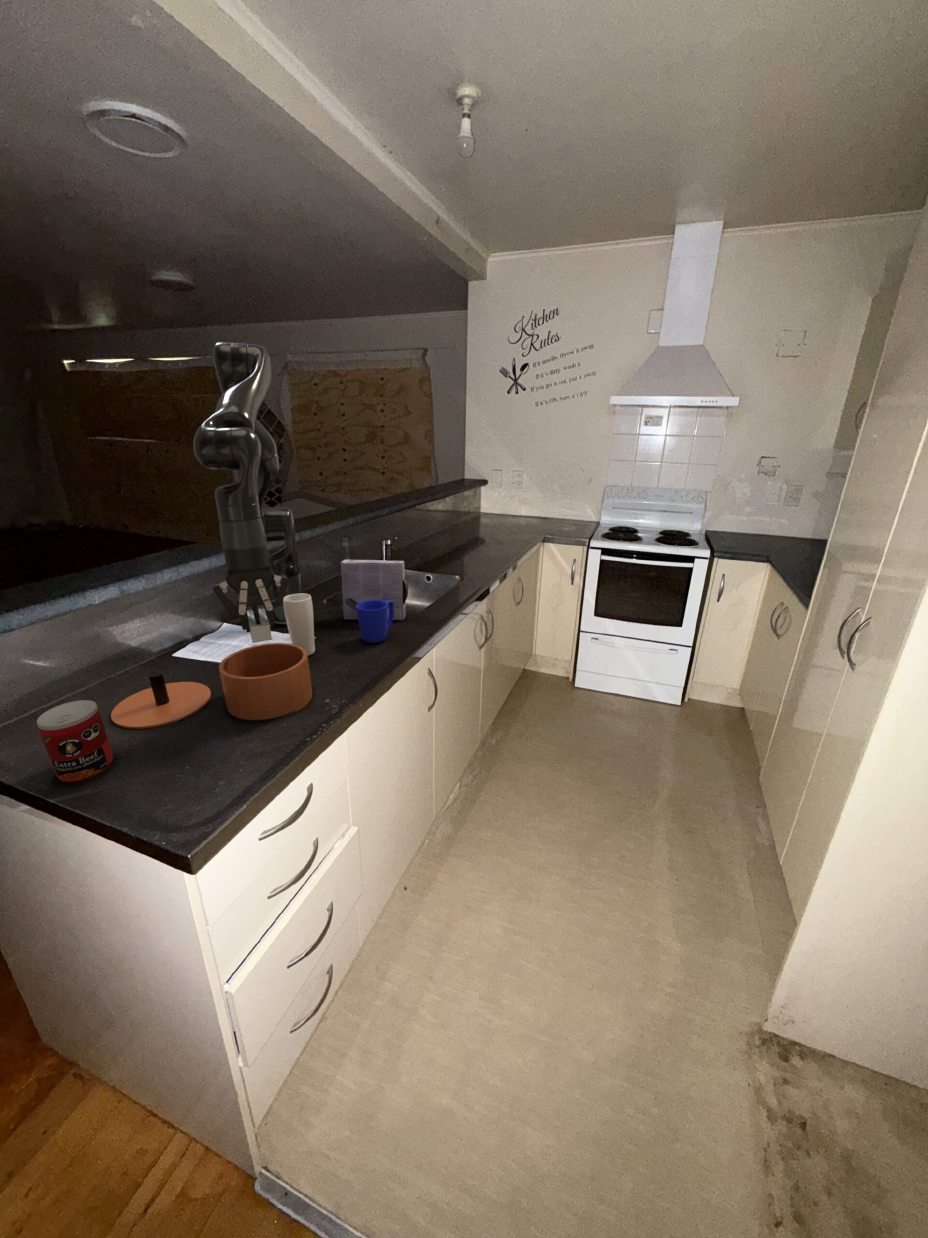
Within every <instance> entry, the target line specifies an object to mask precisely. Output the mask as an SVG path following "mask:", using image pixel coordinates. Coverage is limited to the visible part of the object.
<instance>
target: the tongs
mask: <svg viewBox="0 0 928 1238" xmlns="http://www.w3.org/2000/svg"><path fill="white" fill-rule="evenodd" d="M256 609H257V616H258V621H259V623H260V624H257V621H256V619H255V614H254V608H253V606H252V605H249V606H246V611H247V615H248V622H249V627H250V632H249V633H250V637H251V642H252V644H253V643H255V644H256V643H259V642H261V643H262V642H265V641H272V640H273V638H272V631H271V630H272V629H270V625H269V621H268V618H267V616H266V612H265V609H266V607H265V604H257V605H256Z"/></svg>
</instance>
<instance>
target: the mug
mask: <svg viewBox="0 0 928 1238" xmlns="http://www.w3.org/2000/svg"><path fill="white" fill-rule="evenodd" d="M388 604H389V620H388ZM356 609H357V615H358V624H359V625H358V626H359V631H360V637H361V639H362V641H363V642H365V643H368V644H378V643H381V642H384V641H385V640H386V639H387V637H388V629H390V627H391V626H393V625H392V624H393V621H394V620H393V610H394V603H393V601H392V600H387V601H381V600H368V601H363V602H360V603H358V604H357V605H356Z"/></svg>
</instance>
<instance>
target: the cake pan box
mask: <svg viewBox="0 0 928 1238" xmlns="http://www.w3.org/2000/svg"><path fill="white" fill-rule="evenodd" d="M340 572H341V592H342V609H343V610H342V612H343V619H344V621H346V620H347V621H348V620H352V621H353V620H355V621H356V620H358V615H357V609H356V605H357V604H358V603H360V602H363V601H368V600H381V601H387V600H392V601H393V603H394V610H393V621H405V618H406V615H407V613H406V611H407V610H406V601H407V598H408V596H409V584H408V581H407V579H406V575H405V573H406V572H405V561H404V560H378V559H343V560H341V561H340ZM388 620H389V604H388ZM388 620H387V621H388Z"/></svg>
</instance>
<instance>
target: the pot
mask: <svg viewBox="0 0 928 1238" xmlns="http://www.w3.org/2000/svg"><path fill="white" fill-rule="evenodd" d="M218 672H219V676H220V681H221V686H222V691H223V696H224V700H225V705H226V710H227V712H228V713H229V714H230V715H231V716H233V717H235V718H238V719H241V720H247V721H261V720H271V719H274V718H275V719H276V718H278V717H283V716H285V715H288V714H290V713H293V712H295V713H297V712H299V711H301V710H302V709H304V708H305V707H306V706H307V705H308V704H310V702H311V700H312V697H313V685H312V678H311V677H312V676H311V670H310V662H309V656H308V655H307V652H306V650H305V649H304V648H302V647H301V646H298V645H294V644H292V643H291V642H290V643H289V642H288V643H287V642H273V643H272V642H271V643H262V644H257V645H256V644H255V645H252V646H248V647H245V648H242V649H239V650H237V651H235V652H232V653H231V654H229V655H228V656H226V657H225V658H223V659H222V660H221V662H220V663H219V665H218Z"/></svg>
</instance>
